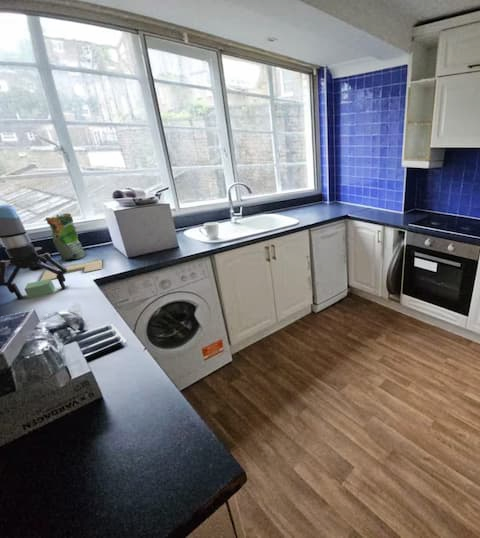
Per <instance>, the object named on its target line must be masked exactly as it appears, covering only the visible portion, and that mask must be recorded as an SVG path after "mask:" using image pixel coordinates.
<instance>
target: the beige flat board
mask: <svg viewBox="0 0 480 538" xmlns="http://www.w3.org/2000/svg"><path fill="white" fill-rule="evenodd" d="M64 267H65V268H66V269H67V272H66V273H65V274H68V273H72V271H73V272H77V270H78V271H82V269H83V273H84V274H89V273H93V272H97V271H102V269H103V261H102V259H100V260H94V261H89V262H83V263H79V264H78V263H77V264H74V265H68V266H64ZM56 269H58V268H57V267H56ZM58 270H60V269H58ZM60 271H61V270H60ZM56 276H57V274H55V273H53V272H50V271H48V270H44V272H43V273H42V276H41V277H40V279H39V281H42V280H47V279H51V281H54V280H58V279H57V277H56Z"/></svg>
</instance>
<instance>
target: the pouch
mask: <svg viewBox="0 0 480 538" xmlns="http://www.w3.org/2000/svg"><path fill="white" fill-rule="evenodd" d="M44 220H45V221H46V224H47V225H49V227H50V229H51V231H52V233H51V236H52V241H53V244H54V247H55V248H56V251H57V252H58V254H59V256H60V257H61V260H62V261H66V260H67V261H68V260H81V259H84V258H85V257H86V256H87V255H86V252H85V250H84V249H83V246H82V242H80V241H79V233H77V231H76V226H75V224H74V219H73V216H72V214H71V213H67V212H66V213H63V214H60V215H59V214H56V216H52V217H46V218H45V219H44Z"/></svg>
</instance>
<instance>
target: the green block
mask: <svg viewBox="0 0 480 538" xmlns="http://www.w3.org/2000/svg"><path fill="white" fill-rule="evenodd" d="M55 289H56V287H55V284H54V283H53V280H51V279H47V280H42V281H40V280H37V281H32V282H28V283H26V285H25V287H24V288H23V290H24V291H25V293H26V296H27V298H28V299H30V300H31V299H35V298H39V297H40V298H41V297H44V296H48V295H52V294H54V293H55Z"/></svg>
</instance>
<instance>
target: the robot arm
mask: <svg viewBox="0 0 480 538" xmlns="http://www.w3.org/2000/svg"><path fill="white" fill-rule="evenodd" d="M0 243H1V244H2V247H3V248H5V249H4V251H5V253H6V254H7V256H8V258H9V260H3V259H2V260H0V287H4V286H5V287H6V288H7V289H8V291H9V293H11V294H15V296H16V298H17V300H18V301H19V300H22V298H23V295H22V293H21V292H20V289H19V288H18V286H17V284H16V283H15V282H14V280H15V278H16V277H17V275H18V273H19V271H20V270H21V269H22V270H26V269H29V268H30V267H35V266H38V267H42V268H43V269H44V270H45V271H47V270H48V271H50V272H53V273H55V274H57V276H56V277H57V279H56V280H57V281H58V283H59V285H60V287H61V289H62V290H66V288H67V286H66V285H65V282H66V280H67V279H66V277H65V274H67V273H66V272H67V269H66V268H65V267H66V266H64V265H62V264H61V263H60V262H59V261H57V260H56V259H54V258H53V256H52V257H51V254H50V253H48V252H44V254H42V255H38V254H37V252H36V250H35V248H36V247H35V246H34V245H33V243H32V240H31V237H30V236H29V234H28V232H27V230H26V228H25V227H24V224H23V222H22V220H21V218H20V215H19V214H18V213H17V211H16V209H15V208H14V206H12V205H8V204H1V205H0ZM40 258H43V259H45V260H47V262H49V263H50V264H51V265H53V266H51V265H49V264H48V263H46V264H45V263H43V262H41V261H39V260H40ZM10 264H11V265H13V266H15V267H14V269H13V270H12V273H11V275H10V276H9V278H8V279H7V281H6V275H7V270H8V267H9V265H10ZM57 268H58V269H60V270H61V271H60V270H58V269H57Z"/></svg>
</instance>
